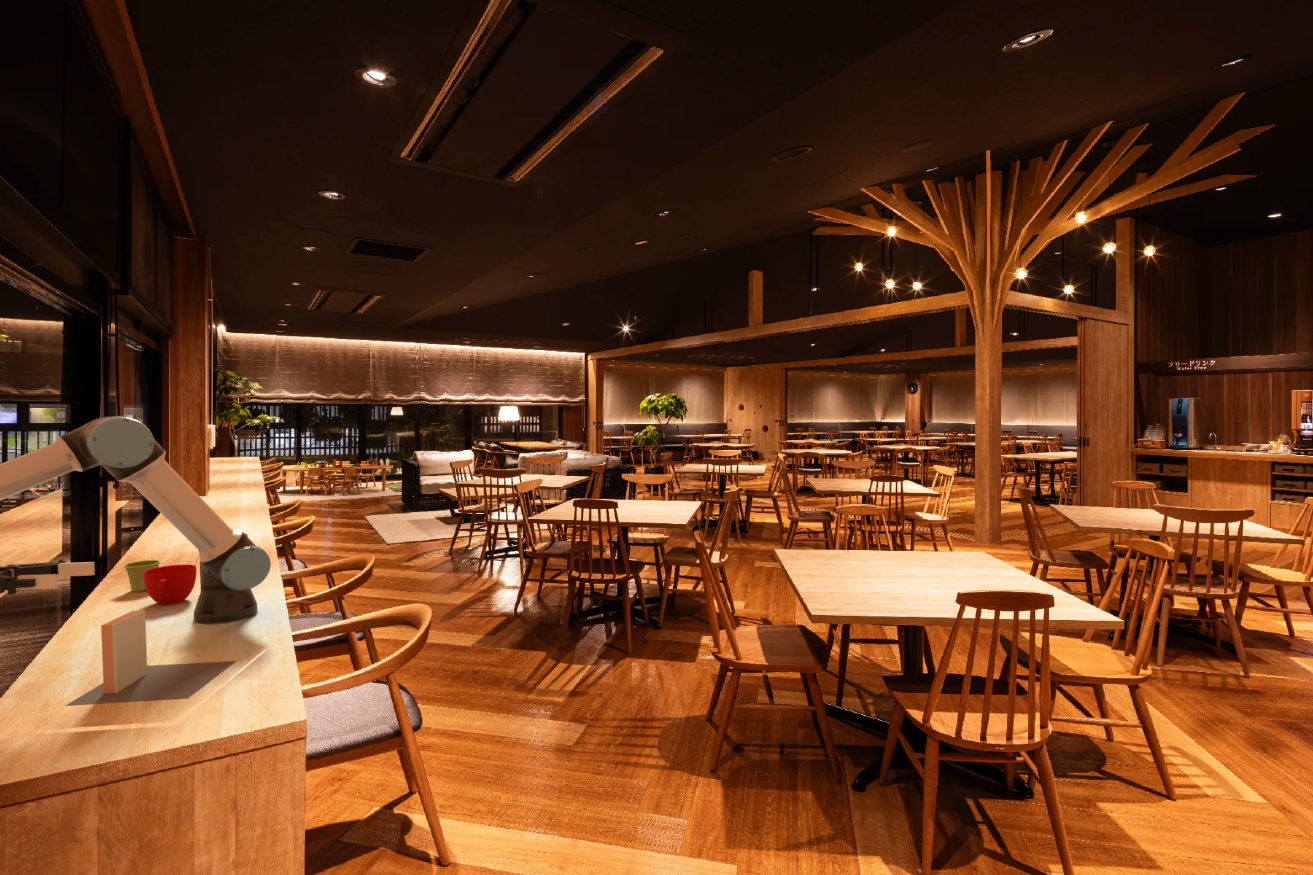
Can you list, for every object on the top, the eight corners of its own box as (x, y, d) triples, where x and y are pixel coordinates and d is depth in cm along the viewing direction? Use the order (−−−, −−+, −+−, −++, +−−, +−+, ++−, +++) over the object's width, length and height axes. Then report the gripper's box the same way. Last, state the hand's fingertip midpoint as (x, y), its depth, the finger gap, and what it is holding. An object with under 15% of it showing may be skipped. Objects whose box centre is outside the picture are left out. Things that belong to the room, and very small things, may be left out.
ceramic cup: (134, 614, 191) (133, 579, 190) (151, 598, 206) (150, 566, 206) (188, 608, 196) (187, 574, 196) (201, 594, 212) (200, 562, 211)
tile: (103, 693, 136) (101, 625, 135) (134, 674, 146) (132, 610, 145) (117, 692, 136) (114, 624, 135) (147, 673, 146) (145, 610, 145)
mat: (65, 708, 130) (65, 705, 130) (130, 669, 150) (130, 666, 150) (188, 701, 133) (188, 698, 133) (236, 663, 153) (236, 660, 153)
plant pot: (146, 593, 212) (145, 566, 212) (117, 593, 213) (116, 566, 212) (168, 585, 222) (167, 559, 221) (140, 585, 222) (139, 559, 222)
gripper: (0, 582, 147) (112, 578, 150) (-101, 614, 124) (33, 608, 128) (-2, 549, 146) (111, 545, 150) (-103, 574, 124) (31, 569, 127)
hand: (75, 574), depth 139 cm, fingers open, 10 cm apart
